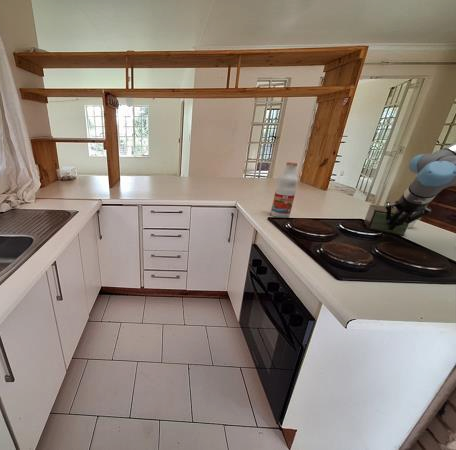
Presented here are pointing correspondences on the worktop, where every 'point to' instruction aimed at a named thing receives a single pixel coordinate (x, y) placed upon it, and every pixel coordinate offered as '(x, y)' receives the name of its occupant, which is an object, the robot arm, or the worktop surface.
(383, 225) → the drawer
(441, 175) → the robot arm
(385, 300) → the worktop surface
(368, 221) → the cabinet
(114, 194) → the worktop surface
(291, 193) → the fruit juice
